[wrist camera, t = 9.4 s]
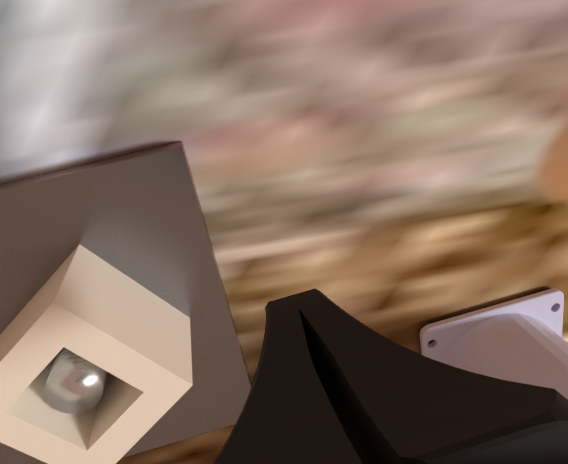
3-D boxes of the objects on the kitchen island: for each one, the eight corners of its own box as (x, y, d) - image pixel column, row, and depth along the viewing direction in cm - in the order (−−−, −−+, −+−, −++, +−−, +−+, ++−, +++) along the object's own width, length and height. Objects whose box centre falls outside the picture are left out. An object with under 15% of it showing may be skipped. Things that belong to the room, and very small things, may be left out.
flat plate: (256, 403, 26) (271, 474, 22) (20, 473, 24) (-11, 562, 20) (181, 141, 20) (182, 171, 16) (-133, 216, 19) (-220, 269, 15)
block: (190, 318, 22) (192, 385, 18) (109, 402, 23) (94, 484, 19) (79, 244, 20) (53, 302, 16) (-5, 340, 20) (-51, 419, 16)
